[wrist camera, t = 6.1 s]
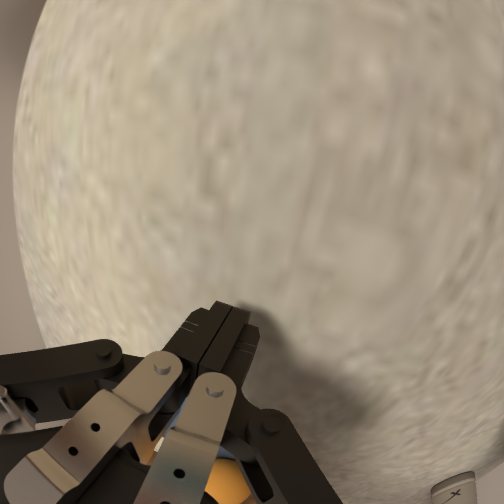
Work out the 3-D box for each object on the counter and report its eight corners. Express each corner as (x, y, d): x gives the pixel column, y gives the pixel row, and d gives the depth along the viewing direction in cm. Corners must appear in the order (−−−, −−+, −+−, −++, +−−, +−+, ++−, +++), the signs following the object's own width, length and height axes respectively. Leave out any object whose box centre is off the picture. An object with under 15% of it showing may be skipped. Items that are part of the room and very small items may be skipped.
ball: (250, 507, 14) (243, 514, 17) (261, 458, 19) (253, 473, 22) (185, 492, 15) (189, 501, 17) (202, 444, 20) (203, 462, 22)
